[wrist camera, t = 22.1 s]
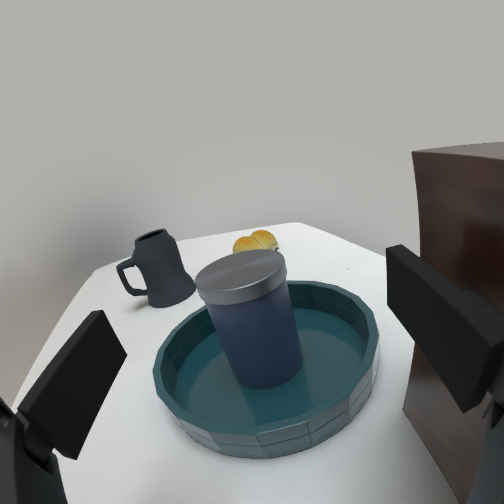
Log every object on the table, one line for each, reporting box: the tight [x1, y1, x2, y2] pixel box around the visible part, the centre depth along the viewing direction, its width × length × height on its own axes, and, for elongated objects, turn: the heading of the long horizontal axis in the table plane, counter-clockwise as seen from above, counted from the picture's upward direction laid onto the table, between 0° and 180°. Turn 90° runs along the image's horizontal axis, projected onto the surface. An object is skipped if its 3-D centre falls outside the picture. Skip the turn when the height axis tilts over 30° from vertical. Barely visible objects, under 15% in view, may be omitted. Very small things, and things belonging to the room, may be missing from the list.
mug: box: [116, 229, 196, 308], centre depth 45 cm, size 12×9×11 cm
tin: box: [195, 249, 303, 389], centre depth 23 cm, size 7×7×10 cm
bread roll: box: [233, 230, 278, 254], centre depth 56 cm, size 8×9×4 cm
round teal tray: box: [153, 281, 379, 458], centre depth 25 cm, size 21×21×4 cm
